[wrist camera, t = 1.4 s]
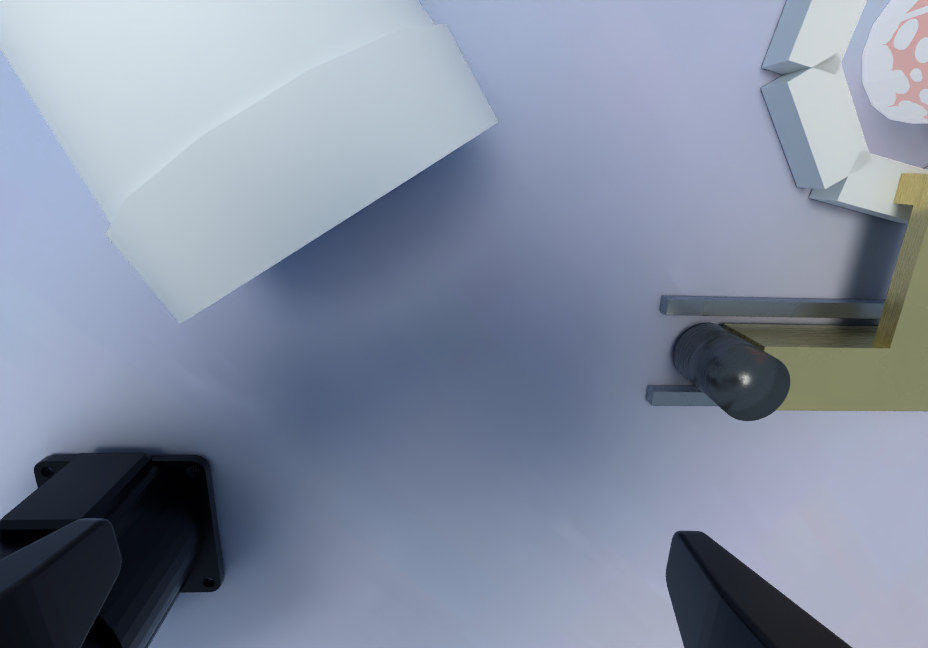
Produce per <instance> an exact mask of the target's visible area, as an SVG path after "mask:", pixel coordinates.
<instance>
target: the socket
mask: <svg viewBox="0 0 928 648" xmlns="http://www.w3.org/2000/svg"><path fill="white" fill-rule="evenodd" d="M866 2H867V0H787V2H786V4H785V7H784V9H783V12H782V15H781V17H780V20H779V23H778V25H777V28H776V31H775V33H774V36H773V38H772V41H771V44H770V46H769V49H768V52H767V54H766V57H765V60H764V62H763V65H762V67H761V68H763V69H766V70H770V71H773V72H776V73H779V74H783V75H782V76H780V77H779V78H777V79H775V80H774V81H772V82H770V83H769V84H767V85H765V86H764V87H762V88H761V90H762V93H763V96H764V99H765V101H766V104H767V107H768V109H769V112H770V115H771V118H772V120H773V123H774V126H775V128H776V131H777V134H778V136H779V139H780V142H781V145H782V147H783V150H784V153H785V155H786V158H787V161H788V164H789V166H790V169H791V172H792V174H793V177H794V180H795V182H796V185H797V187H800V188H813V189H812V192H811V194H810V196H809V198H811V199H814V200H818V201H822V202H825V203H829V204H832V205H836V206H840V207H843V208H847V209H850V210H854V211H858V212H861V213H865V214H869V215H872V216H876V217H879V218H883V219H887V220H890V221H894V222H898V223H904V224H908V222H909V219H910V216H911V212H912V209H913V205H907V204H896V203H893V201H894V198H895V194H896V191H897V187H898V183H899V180H900V176H901V173H916V174H928V167H926V168H925V169H923V168H919V167H916V166H913V165H909V164H906V163H902V162H899V161H896V160H892V159H889V158H885V157H882V156H879V155H875V154H872V153H869V150H868V147H867V144H866V141H865V138H864V135H863V131H862V128H861V125H860V122H859V119H858V116H857V113H856V109H855V106H854V103H853V100H852V97H851V94H850V90H849V87H848V84H847V81H846V78H845V75H844V72H843V68H842V65H841V61H842V59H843V57H844V54H845V52H846V49H847V47H848V45H849V42H850V40H851V38H852V35H853V33H854V30H855V28H856V26H857V23H858V21H859V18H860V16H861V14H862V11H863V9H864V7H865V4H866Z"/></svg>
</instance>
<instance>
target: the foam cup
mask: <svg viewBox="0 0 928 648" xmlns="http://www.w3.org/2000/svg"><path fill="white" fill-rule="evenodd" d="M0 50H1V52H2V53H3V55H4V56H5V58H6V59H7V61H8V63H9V64H10V66H11V67H12V69H13V71H14V72H15V74H16V75H17V77H18V78H19V80H20V82H21V83H22V85H23V86H24V88H25V89H26V91H27V93H28V94H29V96H30V97H31V99H32V101H33V102H34V104H35V105H36V107H37V108H38V110H39V112H40V113H41V115H42V116H43V118H44V120H45V121H46V123H47V124H48V126H49V127H50V129H51V131H52V132H53V134H54V135H55V137H56V138H57V140H58V142H59V143H60V145H61V146H62V148H63V150H64V151H65V153H66V154H67V156H68V157H69V159H70V161H71V162H72V164H73V165H74V167H75V169H76V170H77V172H78V173H79V175H80V176H81V178H82V180H83V181H84V183H85V184H86V186H87V188H88V189H89V191H90V192H91V194H92V195H93V197H94V199H95V200H96V202H97V203H98V205H99V206H100V208H101V210H102V211H103V213H104V214H105V216H106V218H107V219H108V221H109V222H110V224H111V225H110V226H109V228H108V230H107V232H106V234H105V235H106V236H107V237H108V239H109V240H110V241H111V242H112V243H113V245H114V246H115V247H116V248H117V249H118V251H119V252H120V253H121V254H122V255H123V257H124V258H125V259H126V260H127V261H128V263H129V264H130V265H131V266H132V267H133V269H134V270H135V271H136V272H137V273H138V275H139V276H140V277H141V278H142V279H143V281H144V282H145V283H146V284H147V285H148V287H149V288H150V289H151V290H152V291H153V293H154V294H155V295H156V296H157V297H158V299H159V300H160V301H161V302H162V303H163V305H164V306H165V307H166V308H167V309H168V311H169V312H170V313H171V314H172V315H173V317H174V318H175V319H176V320H177V321H178V323H179V324H182V323H183V322H185V321H186V320H188V319H190V318H191V317H193V316H194V315H196V314H198V313H199V312H201V311H202V310H204V309H206V308H207V307H209V306H210V305H212V304H213V303H215V302H217V301H218V300H220V299H221V298H223V297H224V296H226V295H228V294H229V293H231V292H232V291H234V290H236V289H237V288H239V287H240V286H242V285H243V284H245V283H247V282H248V281H250V280H251V279H253V278H254V277H256V276H258V275H259V274H261V273H262V272H264V271H265V270H267V269H269V268H270V267H272V266H273V265H275V264H277V263H278V262H280V261H281V260H283V259H284V258H286V257H288V256H289V255H291V254H292V253H294V252H295V251H297V250H299V249H300V248H302V247H303V246H305V245H306V244H308V243H310V242H311V241H313V240H314V239H316V238H317V237H319V236H321V235H322V234H324V233H325V232H327V231H328V230H330V229H332V228H333V227H335V226H336V225H338V224H339V223H341V222H343V221H344V220H346V219H347V218H349V217H350V216H352V215H354V214H355V213H357V212H358V211H360V210H361V209H363V208H365V207H366V206H368V205H369V204H371V203H373V202H374V201H376V200H377V199H379V198H380V197H382V196H384V195H385V194H387V193H388V192H390V191H391V190H393V189H395V188H396V187H398V186H399V185H401V184H402V183H404V182H406V181H407V180H409V179H410V178H412V177H413V176H415V175H417V174H418V173H420V172H421V171H423V170H424V169H426V168H427V167H429V166H431V165H432V164H434V163H435V162H437V161H438V160H440V159H442V158H443V157H445V156H446V155H448V154H449V153H451V152H453V151H454V150H456V149H457V148H459V147H460V146H462V145H464V144H465V143H467V142H468V141H470V140H471V139H473V138H475V137H476V136H478V135H479V134H481V133H482V132H484V131H485V130H487V129H489V128H490V127H492V126H493V125H495V124H496V123H498V120H497V118H496V116H495V115H494V113H493V111H492V109H491V107H490V105H489V103H488V101H487V100H486V98H485V96H484V94H483V92H482V90H481V88H480V87H479V85H478V83H477V81H476V79H475V77H474V75H473V74H472V72H471V70H470V68H469V66H468V64H467V62H466V60H465V59H464V57H463V55H462V53H461V51H460V49H459V47H458V46H457V44H456V42H455V40H454V38H453V36H452V34H451V32H450V31H449V29H448V27H447V25H446V23H445V24H436V25H435V24H434V22H433V21H432V19H431V18H430V17H429V15H428V14H427V12H426V11H425V9H424V8H423V7H422V5H421V4H420V2H419V1H418V0H0Z"/></svg>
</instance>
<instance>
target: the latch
mask: <svg viewBox="0 0 928 648" xmlns="http://www.w3.org/2000/svg"><path fill="white" fill-rule="evenodd" d="M893 203H896V204H907V205H913V209H912V212H911V216H910V219H909V222H908V226H907V229H906V233H905V236H904V239H903V243H902V246H901V250H900V253H899V256H898V260H897V263H896V267H895V270H894V273H893V277H892V280H891V284H890V287H889V290H888V294H887V297H886V301H885V304H884V307H883V311H882V314H881V318H880V321H879V324H878V326H835V325H776V324H724V326H723V327H721V326H719V325H717V324H711V323H706V324H700V325H697V326H695V327H693V328H691V329H689V330H688V331H687V332H685V333H684V334H683V335H682V337H681V338H680V339H679V341H678V342H677V344H676V347H675V350H674V362H675V365H676V368H677V369H678V371H679V372H680V373H681V374H682V375H683V376H684V377H686V378H687V379H688V380H689V381H690V382H691V383H693V384H694V385H695V386H696V387H697V388H698V389H699V390H701V391H702V392H703V393H704V394H705V395H706V396H708V397H709V398H710V399H711V400H712V401H713V402H715V403H716V404H717V405H718V406H719V407H720V408H721V409H723V410H724V411H725V412H726V413H727V414H728V415H730V416H731V417H733V418H735V419H738V420H742V421H753V420H758V419H761V418H764V417H766V416H768V415H770V414H771V413H773V412H774V411H775V410H811V411H928V174H916V173H901V176H900V180H899V183H898V187H897V191H896V194H895V198H894V201H893Z"/></svg>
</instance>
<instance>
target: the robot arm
mask: <svg viewBox="0 0 928 648" xmlns="http://www.w3.org/2000/svg"><path fill="white" fill-rule="evenodd" d="M191 466H192V467H196V468H197V469H198V470H199V472H196V471H194V470H192V468H191ZM49 467H50V468H52V469H53V471H54V472H53V471H51V470H50V469H49ZM34 474H35V478H36V482H37V486H38V489H37V490H36V491H34V492H33V493H32V494H31V495H29V496H28V497H27V498H26V499H25V500H23V501H22V502H21V503H20V504H19V505H17V506H16V507H15V508H14V509H12V510H11V511H10V512H9V513H8V514H6V515H5V516H4V517H3V518H2V519H1V520H0V648H148V646H149V644H150V643H151V641H152V639H153V638H154V636H155V634H156V633H157V631H158V629H159V628H160V626H161V624H162V622H163V621H164V619H165V617H166V616H167V614H168V612H169V611H170V609H171V607H172V606H173V604H174V602H175V600H176V599H177V597H178V595H179V594H180V592H213V591H216V590H217V589H219V587H220V586H221V584H222V582H223V580H224V568H223V561H222V553H221V546H220V538H219V531H218V524H217V516H216V509H215V501H214V494H213V486H212V479H211V471H210V465H209V463H208V461H207V460H206V459H205V458H203V457H201V456H196V455H147V454H144V453H82V454H79V455H52V456H47V457H45V458H44V459H42V460H41V461H40V462H38V463H37V464H36V465H35V467H34ZM209 578H211V579H213V580H210V579H209ZM666 582H667V587H668V591H669V595H670V598H671V602H672V605H673V609H674V612H675V616H676V620H677V623H678V627H679V630H680V634H681V638H682V641H683V645H684V648H852V647H851V646H849V645H848V644H847V643H846V642H844V641H843V640H842V639H840V638H839V637H838V636H837V635H835V634H834V633H833V632H831V631H830V630H829V629H828V628H826V627H825V626H824V625H822V624H821V623H820V622H819V621H817V620H816V619H815V618H813V617H812V616H811V615H809V614H808V613H807V612H806V611H804V610H803V609H802V608H800V607H799V606H798V605H797V604H795V603H794V602H793V601H791V600H790V599H789V598H788V597H786V596H785V595H784V594H782V593H781V592H780V591H779V590H777V589H776V588H775V587H773V586H772V585H771V584H769V583H768V582H767V581H766V580H764V579H763V578H762V577H760V576H759V575H758V574H757V573H755V572H754V571H753V570H751V569H750V568H749V567H748V566H746V565H745V564H744V563H742V562H741V561H740V560H739V559H737V558H736V557H735V556H733V555H732V554H731V553H729V552H728V551H727V550H726V549H724V548H723V547H722V546H720V545H719V544H718V543H717V542H715V541H714V540H713V539H711V538H710V537H709V536H708V535H706V534H705V533H703V532H700V531H677V532H676V533H675V534H674V535H673V538H672V542H671V547H670V552H669V557H668V562H667V567H666Z"/></svg>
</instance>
